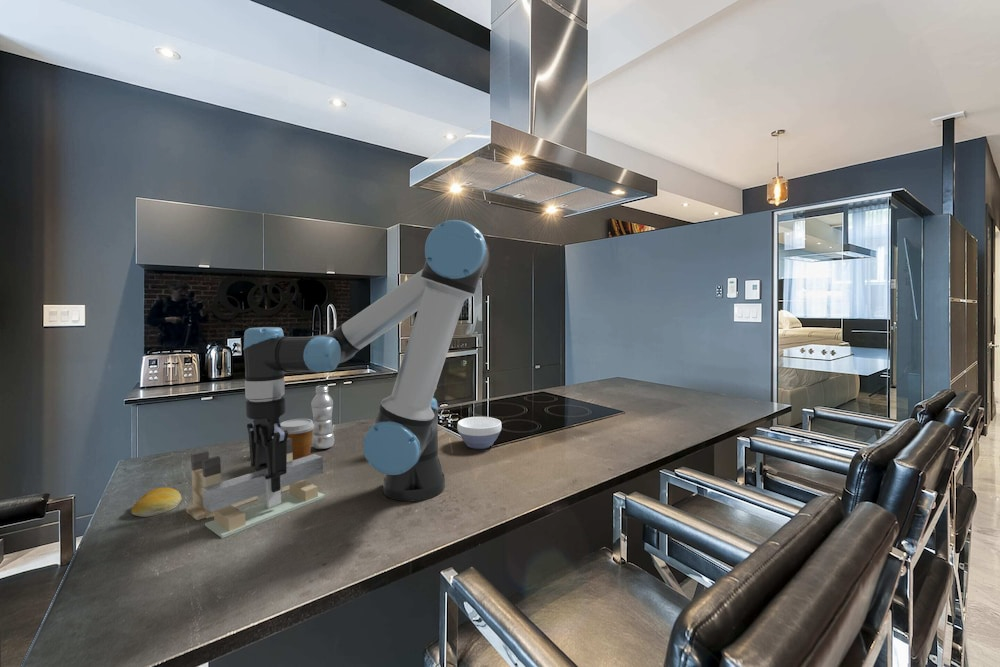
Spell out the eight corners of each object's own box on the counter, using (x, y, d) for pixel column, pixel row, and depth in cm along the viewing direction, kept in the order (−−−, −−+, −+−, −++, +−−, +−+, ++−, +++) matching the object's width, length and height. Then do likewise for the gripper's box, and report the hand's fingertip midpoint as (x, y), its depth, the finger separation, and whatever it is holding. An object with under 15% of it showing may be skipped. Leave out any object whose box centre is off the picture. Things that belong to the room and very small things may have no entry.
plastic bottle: (339, 447, 137) (337, 385, 136) (320, 453, 131) (318, 389, 130) (326, 443, 141) (325, 383, 139) (307, 449, 135) (306, 387, 134)
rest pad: (325, 497, 101) (324, 485, 101) (222, 538, 83) (221, 523, 83) (306, 488, 106) (306, 477, 105) (205, 526, 88) (204, 511, 87)
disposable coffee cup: (301, 470, 117) (300, 428, 116) (271, 468, 119) (269, 426, 118) (322, 458, 126) (321, 419, 126) (294, 456, 128) (292, 417, 128)
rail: (323, 473, 103) (322, 456, 102) (210, 512, 83) (209, 492, 83) (314, 469, 105) (314, 453, 104) (203, 507, 85) (202, 487, 85)
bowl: (476, 435, 150) (476, 414, 149) (510, 443, 141) (510, 420, 141) (448, 446, 138) (447, 423, 137) (483, 455, 129) (483, 431, 129)
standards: (299, 485, 107) (297, 437, 107) (198, 521, 90) (196, 463, 89) (284, 478, 112) (282, 432, 111) (185, 511, 94) (182, 456, 93)
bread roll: (126, 521, 90) (125, 503, 90) (144, 503, 98) (143, 486, 98) (173, 514, 93) (172, 496, 93) (186, 497, 101) (186, 481, 101)
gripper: (302, 399, 91) (306, 505, 92) (264, 390, 101) (268, 487, 102) (267, 406, 85) (270, 520, 86) (230, 396, 94) (234, 498, 96)
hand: (269, 502), depth 94 cm, fingers closed on rail, 3 cm apart
